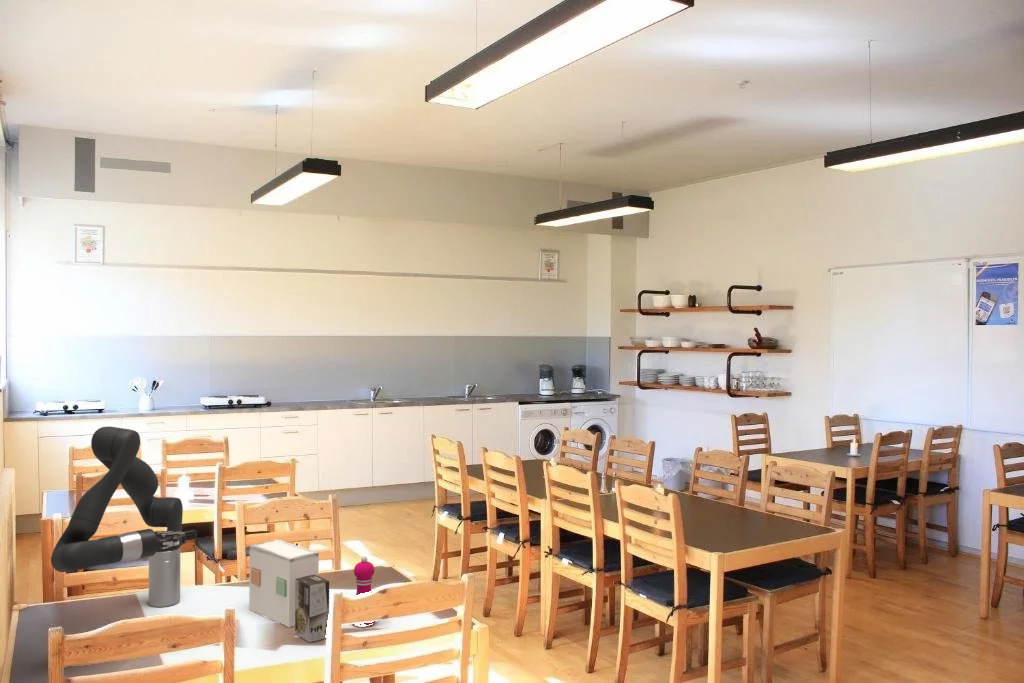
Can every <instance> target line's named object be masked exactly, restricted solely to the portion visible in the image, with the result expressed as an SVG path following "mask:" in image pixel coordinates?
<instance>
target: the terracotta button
mask: <svg viewBox="0 0 1024 683" xmlns="http://www.w3.org/2000/svg"><path fill="white" fill-rule="evenodd" d="M251 583H252V584H254V585H257V586H261V571H260V570H258V569H255V568H253V569H251Z"/></svg>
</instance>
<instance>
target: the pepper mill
mask: <svg viewBox="0 0 1024 683" xmlns="http://www.w3.org/2000/svg"><path fill="white" fill-rule="evenodd" d="M360 559H361V560H360V562H358V563H356V564H355V565H354V569H353V575H354V576H355V577H356V578H355V585H356V592H355V593H356V594H355V596H356V595H358V594H360V593H365V592H369V591H371V592H372V584H373V582H374V581H373V575H374V574H375V567H374V564H373V563H372V562H370V561H368V557H366V556H362V557H361V558H360ZM372 623H374V624H375V621H374V622H372ZM372 623H364V624H366V625H369V624H372ZM360 625H361V624H360Z"/></svg>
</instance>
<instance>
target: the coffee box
mask: <svg viewBox="0 0 1024 683" xmlns="http://www.w3.org/2000/svg"><path fill="white" fill-rule="evenodd" d="M330 582H331V581H329V579H326V578H323V577H321V576H320V575H318V576H317V575H315V574H314V575H309V576H305V577H301V578H296V579H295V626H294V628H295V630H294V633H295V635H296V634H297V636H298V635H299V636H298V637H300V638H301V637H302V638H301V639H303V640H304V641H306V642H308V643H314V642H317V641H318V642H319V641H320V640H321V639H322V640H326V639H325V635H326V627H327V620H328V614H329V615H330ZM313 641H314V642H313Z"/></svg>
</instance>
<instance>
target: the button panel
mask: <svg viewBox="0 0 1024 683" xmlns="http://www.w3.org/2000/svg"><path fill="white" fill-rule="evenodd" d="M319 559H320V558H319V552H318V551H315V550H311V549H308V548H306V547H302V546H299V545H296V544H294V543H291V542H287V541H284V540H281V539H274V540H269V541H264V542H260V543H255V544H250V545H249V577H248V578H249V580H248V583H249V584H248V585H249V586H248V587H249V593H248V596H249V598H248V599H249V602H248V607H249V609H250V610H249V609H248V610H249V611H251V610H252V611H251V612H253V611H254V612H253V613H255V612H256V614H258V613H259V614H258V615H260V614H261V615H260V616H262V615H263V616H262V617H264V616H266V617H268V618H267V619H269V618H270V619H269V620H271V619H272V620H271V621H273V620H274V621H273V622H275V621H276V622H275V623H278V622H279V623H278V624H280V623H281V624H280V625H282V624H284V625H285V627H286V626H287V627H286V628H289V627H290V628H292V627H291V626H293V627H295V579H296V578H301V577H305V576H309V575H314V574H315V575H317V576H319ZM253 568H255V569H258V570H260V571H261V586H257V585H254V584H252V583H251V569H253ZM276 578H281V579H284V580H286V581H287V594H286V596H285V597H284V596H281V595H279V594H276ZM266 617H265V618H266ZM284 625H283V626H284Z"/></svg>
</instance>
